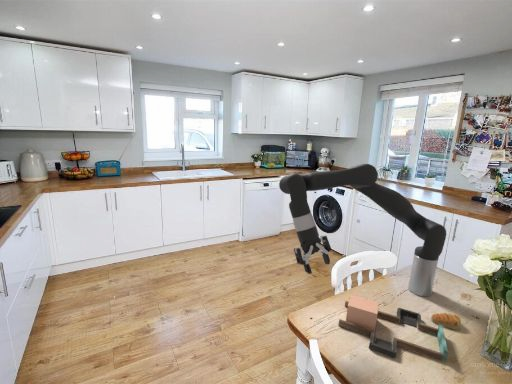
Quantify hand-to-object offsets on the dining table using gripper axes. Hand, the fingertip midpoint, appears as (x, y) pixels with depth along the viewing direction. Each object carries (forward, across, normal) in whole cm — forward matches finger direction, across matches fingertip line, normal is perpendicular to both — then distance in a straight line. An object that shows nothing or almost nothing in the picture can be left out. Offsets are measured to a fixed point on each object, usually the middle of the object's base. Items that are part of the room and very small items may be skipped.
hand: (318, 268), depth 101 cm
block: (+25, -10, +2) cm, 27 cm away
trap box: (+28, -15, +8) cm, 33 cm away
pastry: (+36, -38, +14) cm, 55 cm away
